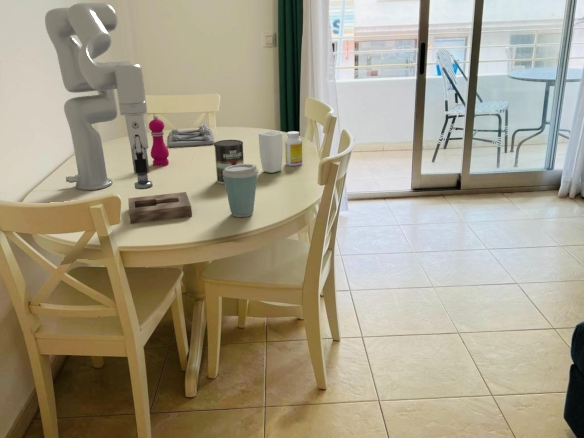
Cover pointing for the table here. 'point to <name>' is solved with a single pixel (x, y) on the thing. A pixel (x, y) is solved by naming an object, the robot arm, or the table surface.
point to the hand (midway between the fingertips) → (141, 169)
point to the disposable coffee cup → (241, 188)
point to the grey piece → (191, 137)
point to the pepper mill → (158, 143)
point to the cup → (271, 151)
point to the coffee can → (227, 156)
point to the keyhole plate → (159, 207)
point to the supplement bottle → (293, 149)
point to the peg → (142, 177)
